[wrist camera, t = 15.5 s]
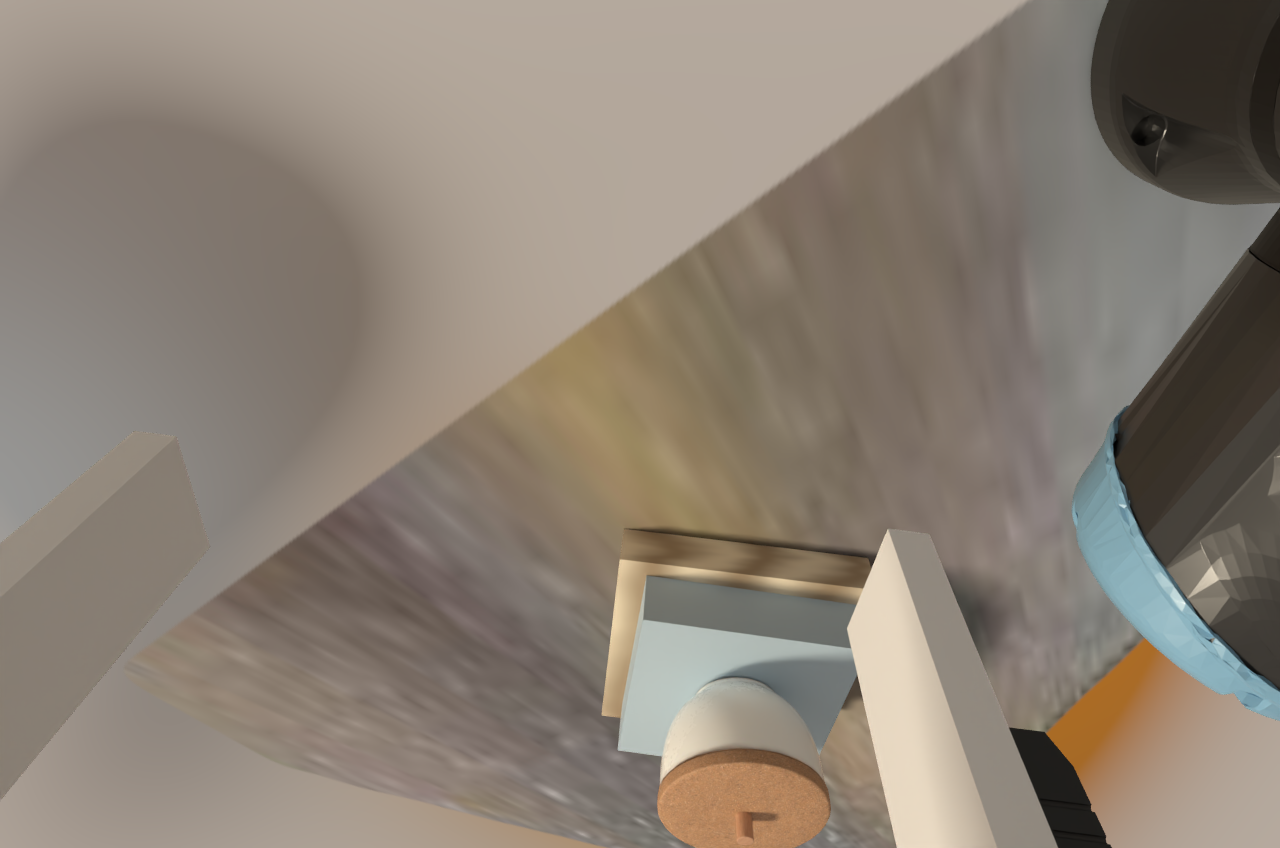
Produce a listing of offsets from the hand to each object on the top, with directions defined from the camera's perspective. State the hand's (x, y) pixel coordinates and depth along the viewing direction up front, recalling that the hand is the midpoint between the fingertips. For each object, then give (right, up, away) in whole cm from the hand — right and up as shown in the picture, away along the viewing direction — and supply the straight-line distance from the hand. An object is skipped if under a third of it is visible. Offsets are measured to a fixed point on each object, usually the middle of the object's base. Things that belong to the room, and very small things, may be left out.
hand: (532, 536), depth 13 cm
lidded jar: (+9, -18, +37) cm, 42 cm away
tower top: (+9, -16, +40) cm, 44 cm away
